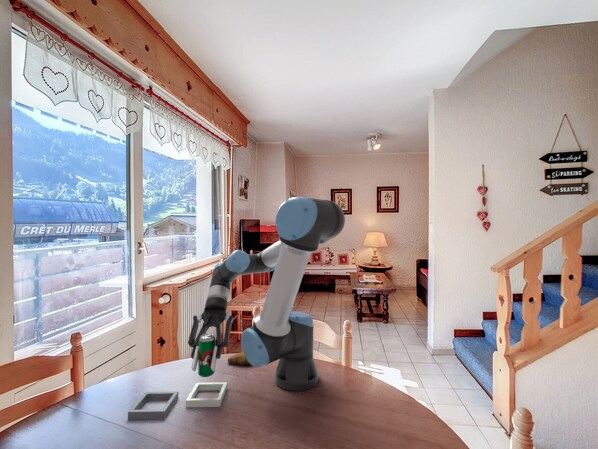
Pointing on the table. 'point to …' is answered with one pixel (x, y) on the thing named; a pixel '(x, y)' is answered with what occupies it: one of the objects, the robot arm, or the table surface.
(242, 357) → the croissant
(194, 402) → the socket lower
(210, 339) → the soda can
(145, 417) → the socket upper
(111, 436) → the table surface
